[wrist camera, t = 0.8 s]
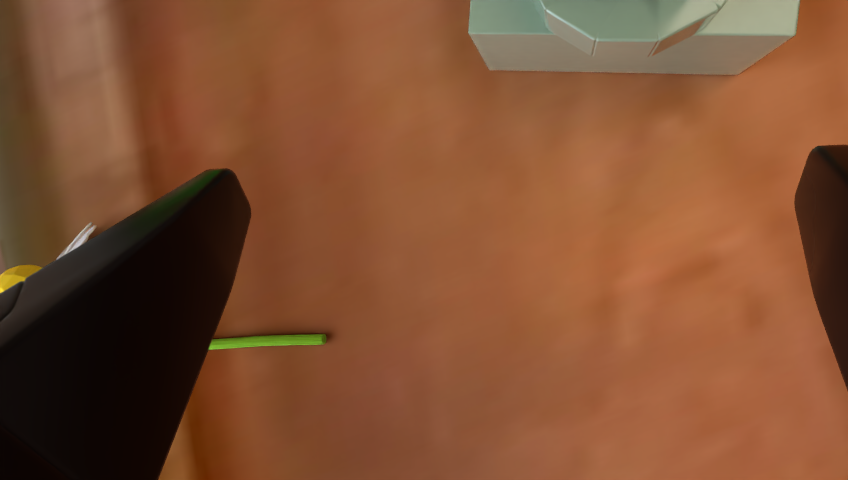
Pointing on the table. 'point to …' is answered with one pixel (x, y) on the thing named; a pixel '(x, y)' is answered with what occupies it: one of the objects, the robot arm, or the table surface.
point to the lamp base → (630, 34)
